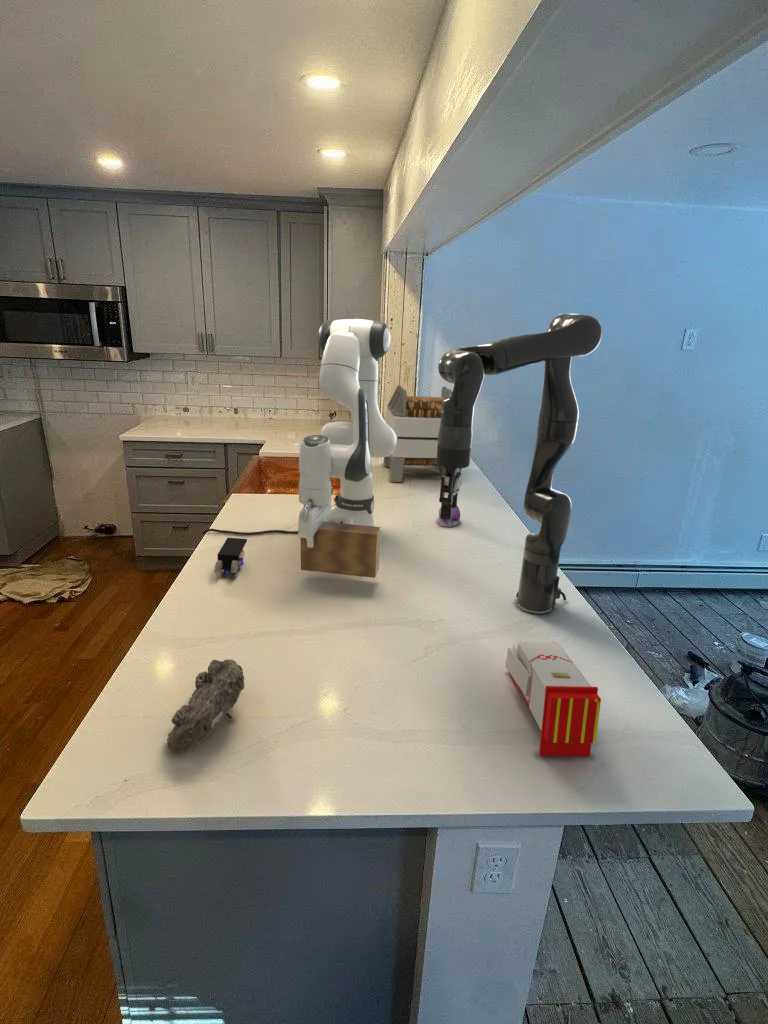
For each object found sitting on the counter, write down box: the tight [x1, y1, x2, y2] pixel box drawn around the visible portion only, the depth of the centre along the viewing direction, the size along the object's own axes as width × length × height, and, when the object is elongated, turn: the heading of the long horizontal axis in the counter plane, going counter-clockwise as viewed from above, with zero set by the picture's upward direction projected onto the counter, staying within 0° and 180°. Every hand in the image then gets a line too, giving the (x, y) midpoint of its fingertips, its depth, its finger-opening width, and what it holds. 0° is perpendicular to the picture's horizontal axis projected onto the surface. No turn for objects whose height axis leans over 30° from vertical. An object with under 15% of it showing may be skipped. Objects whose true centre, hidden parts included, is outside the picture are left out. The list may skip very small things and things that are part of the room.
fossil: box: [166, 658, 245, 754], centre depth 106 cm, size 22×10×15 cm
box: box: [299, 522, 382, 579], centre depth 160 cm, size 22×6×13 cm, turn 81°
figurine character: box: [214, 537, 248, 578], centre depth 166 cm, size 7×8×15 cm
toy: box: [505, 641, 602, 757], centre depth 113 cm, size 12×13×30 cm
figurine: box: [437, 494, 461, 528], centre depth 209 cm, size 9×10×15 cm
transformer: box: [383, 384, 453, 483], centre depth 268 cm, size 34×33×41 cm
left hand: (314, 541), depth 161 cm, fingers closed on box, 6 cm apart
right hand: (448, 512), depth 131 cm, fingers open, 8 cm apart
